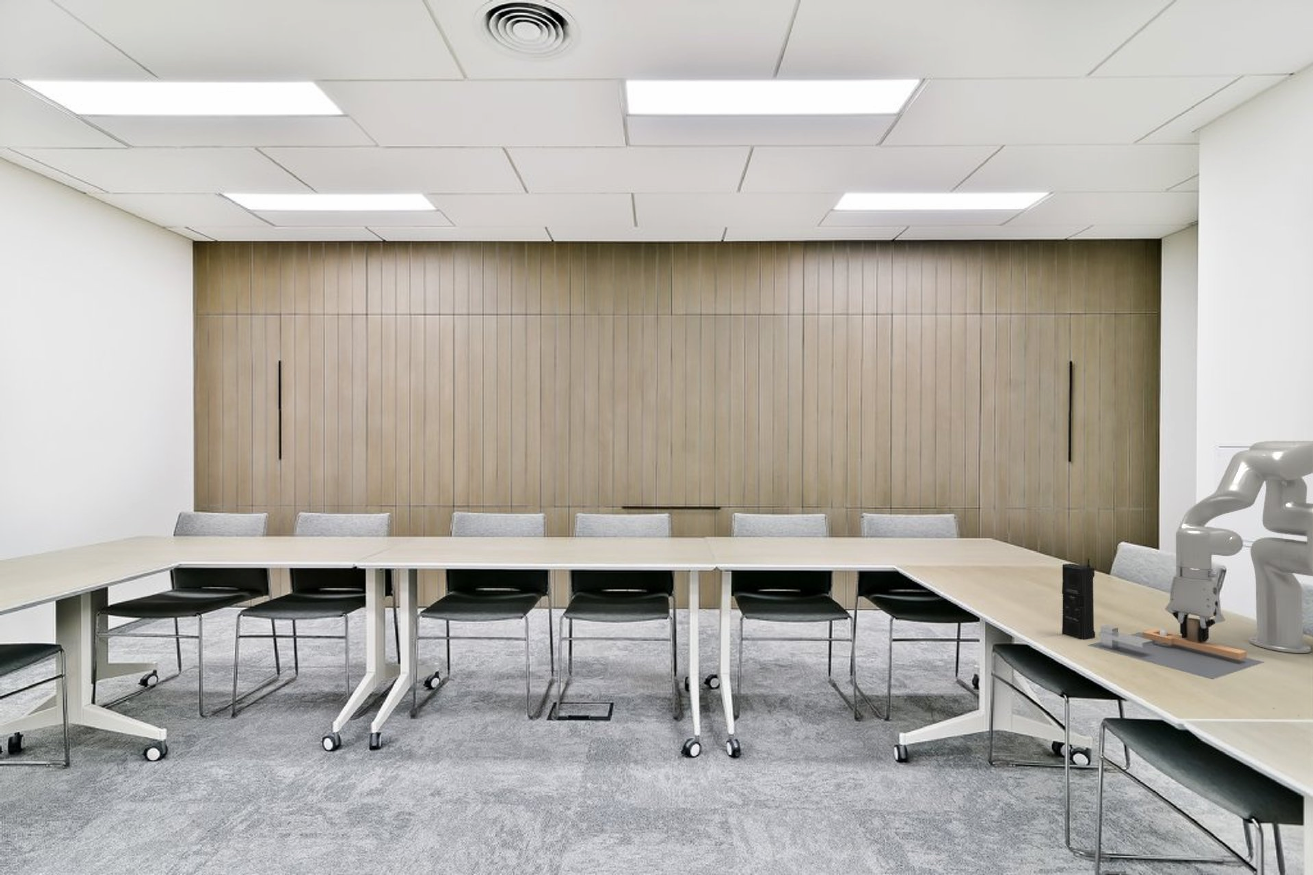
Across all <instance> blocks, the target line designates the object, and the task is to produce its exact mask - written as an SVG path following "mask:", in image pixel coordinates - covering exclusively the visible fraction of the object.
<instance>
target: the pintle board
mask: <svg viewBox="0 0 1313 875" xmlns="http://www.w3.org/2000/svg"><path fill="white" fill-rule="evenodd" d="M1159 630H1160V635H1164V636H1167V632H1168V631H1167V630H1164V629H1162V630H1161V629H1159ZM1130 635H1132V636H1136V637H1140V638H1142V632H1136V633H1131V634H1130ZM1144 639H1147V638H1144ZM1149 640H1151V639H1149ZM1087 646H1089V647H1093V648H1095V649H1100V650H1103V651H1105V652H1106V651H1108V652H1111V653H1114V654H1118V655H1120V656H1121V655H1122V656H1124V657H1129V658H1132V659H1136V660H1140V661H1142V662H1143V661H1144V662H1146V663H1151V664H1154V665H1158V666H1162V667H1165V668H1168V669H1172V670H1173V669H1174V670H1175V671H1176V670H1177V671H1180V672H1183V673H1184V672H1185V673H1187V674H1191V675H1194V676H1195V675H1196V676H1199V677H1202V678H1206V679H1209V680H1215V679H1218V678H1221V677H1224V676H1227V675H1230V674H1233V673H1235V672H1239V671H1242V670H1245V669H1248V668H1252V667H1254V666H1257V665H1260V664H1263V663H1264V661H1261V660H1258V659H1253V658H1250V657H1246V658H1243V659H1240V660H1239V659H1235V658H1230V657H1226V656H1222V655H1218V654H1214V653H1210V652H1206V651H1202V650H1197V649H1193V648H1189V647H1185V646H1181V645H1177V644H1167V643H1163V642H1159V641H1155V640H1153V645H1150V646H1147V647H1143V648H1142V647H1138V646H1134V645H1131V644H1127V643H1123V642H1119V641H1118V647H1117V648H1113V649H1112V648H1108V647H1104V646H1101V641H1098V642H1093V643H1090V644H1087Z"/></svg>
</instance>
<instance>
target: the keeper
mask: <svg viewBox="0 0 1313 875" xmlns="http://www.w3.org/2000/svg"><path fill="white" fill-rule="evenodd" d="M1098 637H1100V642H1101V646H1104V647H1108V648H1112V649H1113V648H1117V647H1118V641H1119V642H1123V643H1127V644H1131V645H1134V646H1138V647H1142V648H1143V647H1147V646H1150V645H1153V640H1149V639H1144V638H1140V637H1136V636H1132V635H1131V634H1127V633H1123V632H1119V627H1116V626H1113V625H1108V624H1106V625H1101V626H1100V631H1099V632H1098Z"/></svg>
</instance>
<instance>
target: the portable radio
mask: <svg viewBox="0 0 1313 875" xmlns="http://www.w3.org/2000/svg"><path fill="white" fill-rule="evenodd" d="M1095 573H1096V572H1095V567H1094V566H1091V565H1090V558H1087V564H1086V565H1082V564H1077V563H1063V564H1062V573H1061V574H1062V576H1061V577H1062V584H1061V585H1062V586H1061V594H1062V618H1061V619H1062V621H1061V622H1062V623H1061V624H1062V628H1061V635H1064V636H1067V637H1068V636H1069V637H1072V638H1074V639H1077V640H1081V641H1082V640H1083V641H1087V640H1090V639H1095V638H1096V631H1095V623H1094V622H1095V620H1094V618H1095V617H1094V614H1095V613H1094V609H1095V608H1094V578H1095Z"/></svg>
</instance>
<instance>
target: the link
mask: <svg viewBox="0 0 1313 875" xmlns="http://www.w3.org/2000/svg"><path fill="white" fill-rule="evenodd" d="M1199 627H1200V618H1195V617H1188V618H1187V638H1182V634H1179V633H1174V632H1170V631H1167V636H1164V635H1160V630H1161V629H1158V628H1157V629H1156V628H1153V629H1150V630H1145V631H1142V632H1141V633H1142V638H1147V639H1151V640H1155V641H1159V642H1163V643H1167V644H1177V645H1181V646H1185V647H1189V648H1193V649H1197V650H1202V651H1206V652H1210V653H1214V654H1218V655H1222V656H1226V657H1230V658H1235V659H1239V660H1240V659H1243V658H1248V657H1247V655H1248V654H1247V650H1242V649H1238V648H1233V647H1229V646H1225V645H1220V644H1216V643H1211V642H1208V641H1206V642H1199V641H1198V628H1199Z"/></svg>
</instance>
